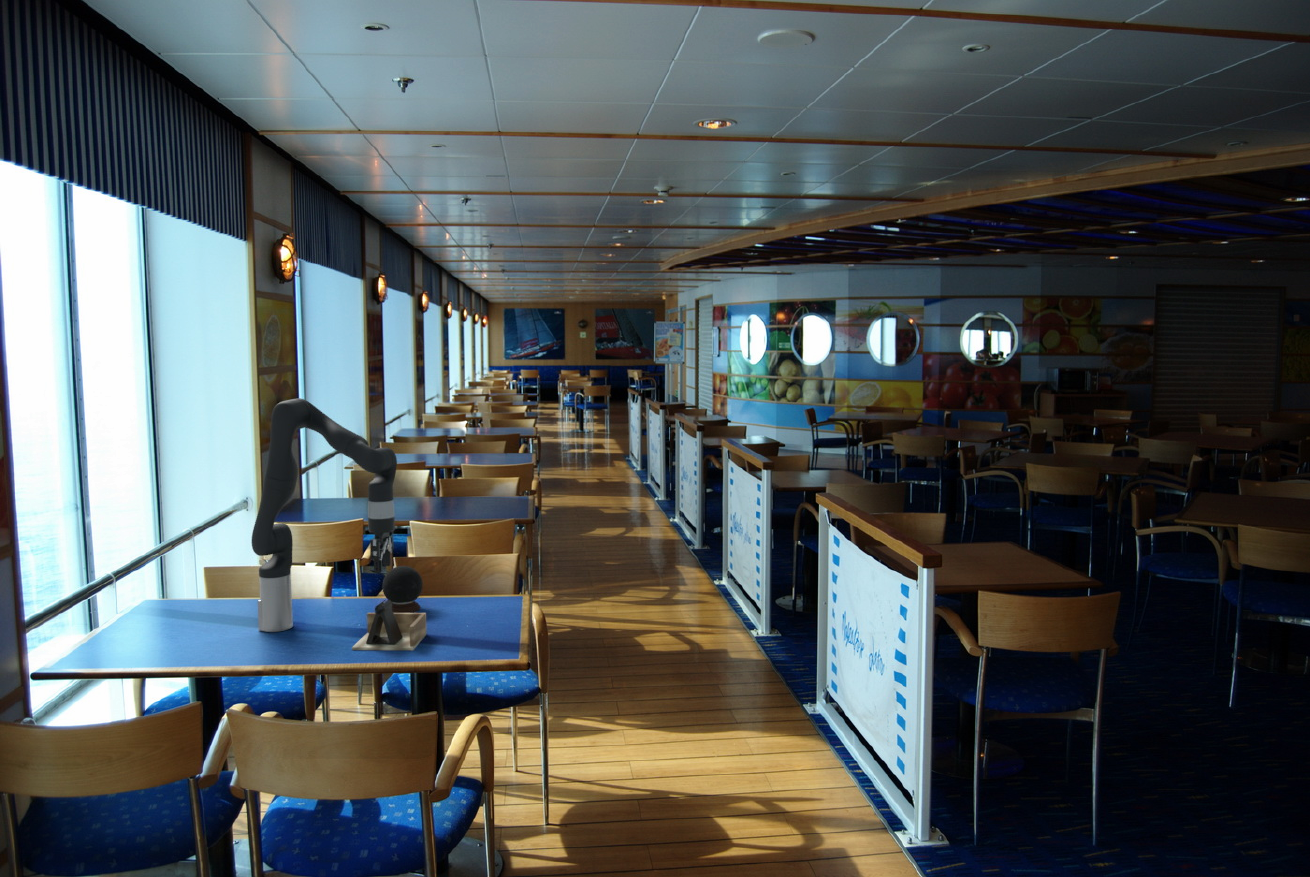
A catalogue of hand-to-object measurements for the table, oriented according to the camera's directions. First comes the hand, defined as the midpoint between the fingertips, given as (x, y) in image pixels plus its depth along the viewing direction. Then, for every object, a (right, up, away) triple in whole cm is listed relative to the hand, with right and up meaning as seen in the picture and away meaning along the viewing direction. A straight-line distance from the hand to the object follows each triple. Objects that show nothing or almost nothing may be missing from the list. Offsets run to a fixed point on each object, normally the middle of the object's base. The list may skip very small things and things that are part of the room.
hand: (382, 569), depth 269 cm
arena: (+1, -23, +4) cm, 23 cm away
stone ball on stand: (-4, -20, +38) cm, 43 cm away
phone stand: (0, -22, +2) cm, 22 cm away
